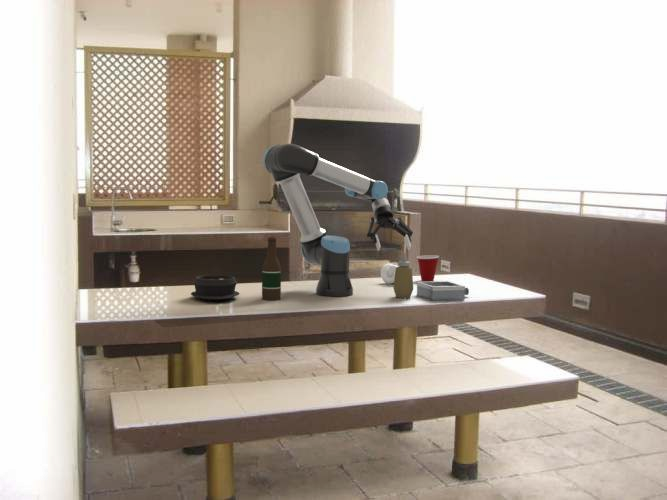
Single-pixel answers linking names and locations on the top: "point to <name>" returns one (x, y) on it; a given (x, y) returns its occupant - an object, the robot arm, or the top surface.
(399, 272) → the squeeze bottle
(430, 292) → the box
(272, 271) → the beer bottle
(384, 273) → the white plush toy
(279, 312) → the top surface
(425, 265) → the plastic cup
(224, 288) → the casserole
